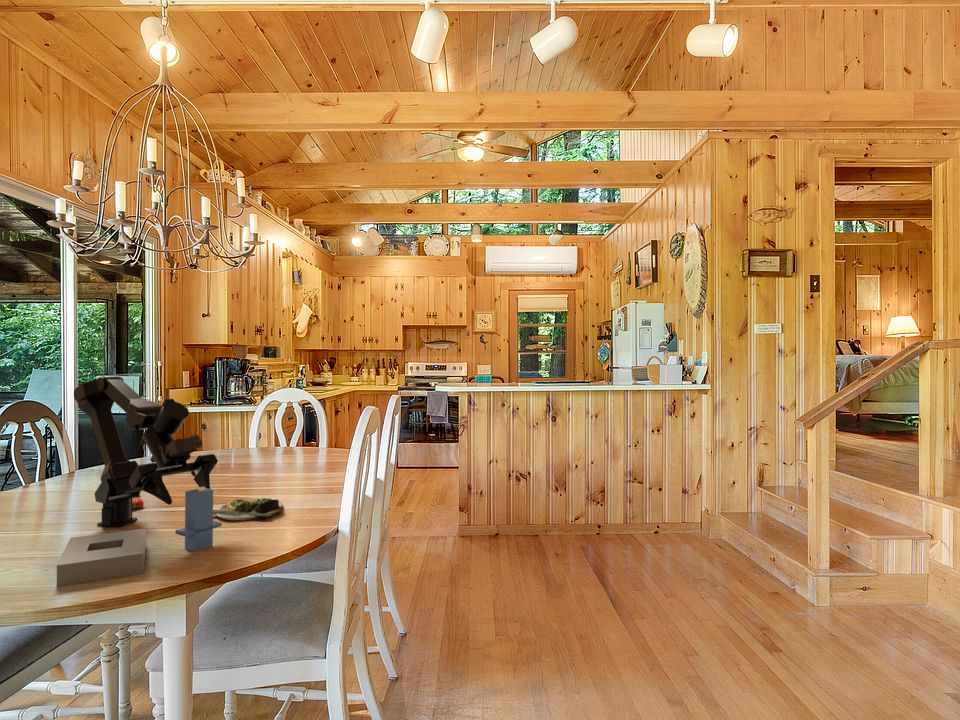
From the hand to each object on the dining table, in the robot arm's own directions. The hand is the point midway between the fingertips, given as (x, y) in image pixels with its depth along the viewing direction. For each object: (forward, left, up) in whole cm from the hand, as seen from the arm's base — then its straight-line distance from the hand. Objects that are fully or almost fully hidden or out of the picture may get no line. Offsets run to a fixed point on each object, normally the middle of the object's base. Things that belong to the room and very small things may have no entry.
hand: (190, 499), depth 129 cm
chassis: (+14, -9, -11) cm, 20 cm away
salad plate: (-27, -1, -11) cm, 29 cm away
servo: (+1, +3, -11) cm, 11 cm away
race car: (-26, -39, -11) cm, 48 cm away
